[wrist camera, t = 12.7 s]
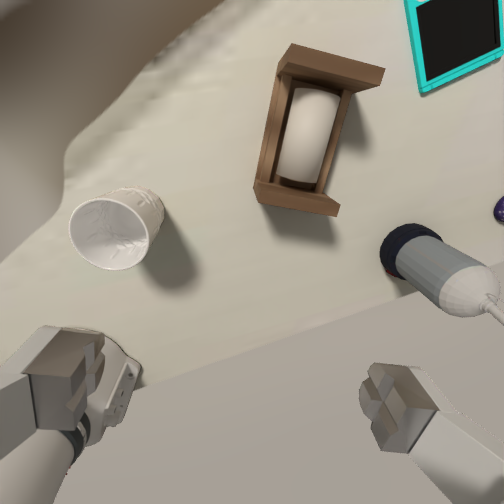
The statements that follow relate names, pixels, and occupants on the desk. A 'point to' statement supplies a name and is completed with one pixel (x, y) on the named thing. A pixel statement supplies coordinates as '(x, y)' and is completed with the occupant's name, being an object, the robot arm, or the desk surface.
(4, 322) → the desk surface
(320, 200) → the holder
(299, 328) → the desk surface
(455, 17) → the handheld game console
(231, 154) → the desk surface
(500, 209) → the toy lamp
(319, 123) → the roll
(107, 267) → the white cup
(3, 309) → the desk surface
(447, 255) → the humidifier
